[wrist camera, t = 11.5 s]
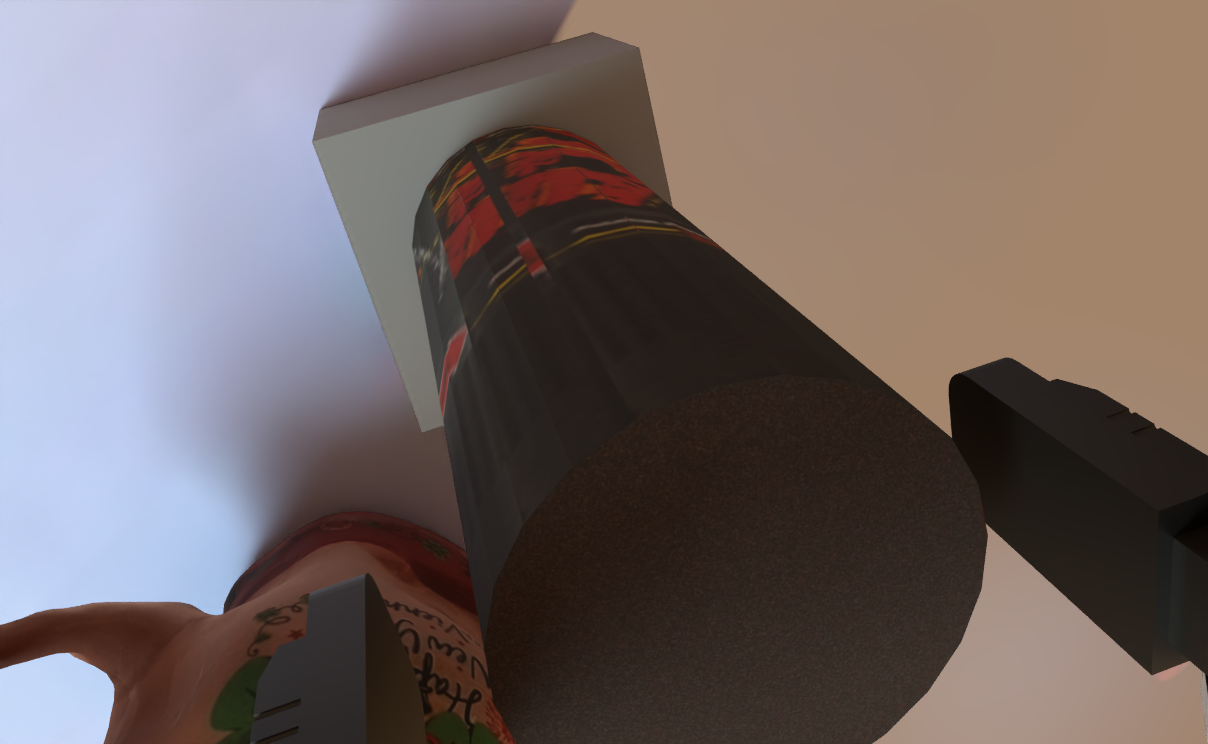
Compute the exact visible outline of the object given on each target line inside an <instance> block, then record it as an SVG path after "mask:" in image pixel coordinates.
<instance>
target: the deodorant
mask: <svg viewBox="0 0 1208 744" xmlns="http://www.w3.org/2000/svg"><path fill="white" fill-rule="evenodd" d="M412 249H413V255H414V261H415V266H416V272H417V278H418V283H419V289H420V294H421V300H422V306H423V311H424V317H425V322H426V328H427V334H428V339H429V345H430V350H431V356H432V362H433V367H434V373H435V378H436V384H437V390H438V395H439V401H440V406H441V412H442V417H443V423H444V429H445V434H446V440H447V445H448V451H449V457H450V462H451V468H452V473H453V479H454V485H455V490H456V496H457V501H458V507H459V513H460V518H461V524H462V529H463V535H464V540H465V546H466V552H467V557H468V563H469V568H470V574H471V580H472V585H473V591H474V596H475V602H476V608H477V613H478V619H479V624H480V630H481V636H482V641H483V647H484V652H485V658H486V663H487V669H488V675H489V680H490V686H491V691H492V697H493V703H494V705H495V707H496V709H497V710H498V712H499V714H500V716H501V718H502V719H503V721H504V723H505V725H506V726H507V728H508V730H509V732H510V733H511V735H512V737H513V739H514V740H515V742H516V744H872V743H873V742H875V741H876V740H878V739H879V738H881V737H882V736H884V734H886V733H887V732H888V731H889V730H890V729H891V728H892V727H893V726H894V725H895V724H896V723H897V722H898V721H899V720H900V719H901V718H902V717H903V716H904V715H905V714H906V713H907V712H908V711H909V710H910V709H911V708H912V707H913V706H914V705H915V704H916V703H917V702H918V701H919V700H920V699H921V698H922V697H923V696H924V695H925V694H926V693H927V692H928V691H929V689H930V688H931V686H932V685H933V683H934V682H935V680H936V679H937V677H938V676H939V674H940V673H941V671H942V670H943V668H944V667H945V665H946V664H947V662H948V661H949V659H950V658H951V656H952V655H953V653H954V652H955V650H956V649H957V647H958V646H959V644H960V643H961V641H962V638H963V636H964V633H965V630H966V628H967V625H968V623H969V620H970V617H971V615H972V612H973V610H974V607H975V604H976V602H977V599H978V597H979V594H980V592H981V588H982V580H983V572H984V562H985V554H986V546H987V538H988V534H987V529H986V523H985V518H984V512H983V507H982V502H981V496H980V491H979V486H978V483H977V481H976V479H975V478H974V476H973V474H972V472H971V471H970V469H969V467H968V465H967V464H966V462H965V460H964V458H963V457H962V455H961V453H960V451H959V450H958V448H957V446H956V445H955V443H954V441H953V439H952V438H951V437H950V436H949V435H947V434H946V433H945V432H944V431H943V430H941V429H940V428H939V427H938V426H937V425H935V424H934V423H933V422H932V421H931V420H929V419H928V418H927V417H926V416H925V415H923V414H922V413H921V412H920V411H919V410H917V409H916V408H915V407H914V406H913V405H911V404H910V403H909V402H908V401H907V400H905V399H904V398H903V397H902V396H900V395H899V394H898V393H897V392H896V391H895V390H893V389H892V388H891V387H890V386H888V385H887V384H886V383H885V382H884V381H882V380H881V379H880V378H879V377H878V376H876V375H875V374H874V373H873V372H872V371H870V370H869V369H868V368H867V367H865V366H864V365H863V364H862V363H861V362H859V361H858V360H857V359H855V357H853V356H852V355H851V354H850V353H848V352H847V351H846V350H845V349H843V348H842V347H841V346H840V345H839V344H838V343H836V342H835V341H834V340H833V339H831V338H830V337H829V336H828V335H827V334H825V333H824V332H823V331H822V330H821V329H819V328H818V327H817V326H816V325H814V324H813V323H812V322H811V321H810V320H808V319H807V318H806V317H805V316H803V315H802V314H801V313H800V312H799V311H798V310H796V309H795V308H794V307H793V306H791V305H790V304H789V303H788V302H787V301H785V300H784V299H783V298H782V297H780V296H779V295H778V294H777V293H776V292H775V291H773V290H772V289H771V288H770V287H768V286H767V285H766V284H765V283H764V282H762V281H761V280H760V279H759V278H758V277H756V276H755V275H754V274H753V273H752V272H750V271H749V270H748V269H747V268H745V267H744V266H743V265H742V264H741V263H739V262H738V261H737V260H736V259H735V258H733V257H732V256H731V255H730V254H728V253H727V252H726V251H725V250H724V249H722V248H721V247H720V246H719V245H718V244H716V243H715V242H714V241H713V240H712V239H710V238H709V237H708V236H707V235H705V234H704V233H703V232H702V231H701V230H699V229H698V228H697V227H696V226H694V225H693V224H692V223H691V222H690V221H688V220H687V219H686V218H685V217H684V216H682V215H681V214H680V213H679V212H678V211H676V210H675V209H674V208H673V207H672V206H670V205H669V204H668V203H667V202H665V201H664V200H663V199H662V198H661V197H659V196H658V195H657V194H656V193H655V192H653V191H652V190H651V189H650V188H648V187H647V186H646V185H645V184H644V183H642V182H641V181H640V180H639V179H638V178H636V177H635V176H634V175H633V174H632V173H630V172H629V171H628V170H627V169H625V168H624V167H623V166H622V165H621V164H619V163H618V162H617V161H616V160H615V159H613V158H612V157H611V156H610V155H608V154H607V153H606V152H605V151H604V150H602V149H601V148H600V147H599V146H598V145H596V144H595V143H594V142H593V141H590V140H588V139H586V138H584V137H581V136H579V135H577V134H575V133H572V132H570V131H568V130H566V129H561V128H554V127H547V126H540V125H526V126H518V127H510V128H503V129H500V130H497V131H495V132H492V133H490V134H487V135H485V136H483V137H480V138H478V139H475V140H473V141H471V142H470V143H468V144H467V145H466V146H465V147H463V148H462V149H461V150H459V151H458V152H457V153H455V154H454V155H453V156H452V157H450V158H449V159H448V160H446V162H445V163H444V164H443V166H442V167H441V168H440V169H439V171H438V172H437V173H436V175H435V176H434V177H433V179H432V180H431V181H430V183H429V184H428V185H427V187H426V190H425V192H424V195H423V197H422V200H421V202H420V205H419V207H418V210H417V212H416V215H415V222H414V232H413V242H412Z"/></svg>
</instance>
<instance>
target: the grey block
mask: <svg viewBox="0 0 1208 744" xmlns="http://www.w3.org/2000/svg"><path fill="white" fill-rule="evenodd" d="M526 125H540V126H547V127H554V128H561V129H566V130H568V131H570V132H572V133H575V134H577V135H579V136H581V137H584V138H586V139H588V140H590V141H593V142H594V143H595V144H596V145H598V146H599V147H600V148H601V149H602V150H604V151H605V152H606V153H607V154H608V155H610V156H611V157H612V158H613V159H615V160H616V161H617V162H618V163H619V164H621V165H622V166H623V167H624V168H625V169H627V170H628V171H629V172H630V173H632V174H633V175H634V176H635V177H636V178H638V179H639V180H640V181H641V182H642V183H644V184H645V185H646V186H647V187H648V188H650V189H651V190H652V191H653V192H655V193H656V194H657V195H658V196H659V197H661V198H662V199H663V200H664V201H665V202H667V203H668V204H669V205H670V206H672V202H671V197H670V193H669V188H668V183H667V178H666V173H665V169H664V164H663V159H662V154H661V150H660V145H659V140H658V135H657V131H656V126H655V122H654V117H653V112H652V107H651V102H650V97H649V93H648V88H647V83H646V79H645V73H644V69H643V64H642V59H641V55H640V50H639V48H638V47H635V46H632V45H629V44H626V43H623V42H620V41H617V40H614V39H611V38H608V37H605V36H602V35H599V34H596V33H593V32H592V33H588V34H585V35H581V36H578V37H574V38H571V39H567V40H564V41H560V42H557V43H553V44H549V45H546V46H542V47H539V48H535V49H532V50H528V51H525V52H521V53H518V54H514V55H511V56H507V57H504V58H500V59H497V60H493V61H490V62H486V63H483V64H479V65H476V66H472V67H469V68H465V69H461V70H458V71H454V72H451V73H447V74H444V75H440V76H437V77H433V78H430V79H426V80H423V81H419V82H416V83H412V84H409V85H405V86H402V87H398V88H395V89H391V90H388V91H384V92H380V93H377V94H373V95H370V96H366V97H363V98H359V99H356V100H352V101H349V102H345V103H342V104H338V105H335V106H331V107H328V108H324V109H321V110H320V111H319V115H318V119H317V123H316V128H315V132H314V136H313V140H312V143H313V145H314V148H315V151H316V153H317V156H318V158H319V161H320V164H321V166H322V169H323V172H324V174H325V177H326V180H327V182H328V185H329V188H330V190H331V193H332V196H333V198H334V201H335V203H336V206H337V209H338V211H339V214H340V217H341V219H342V222H343V225H344V227H345V230H346V233H347V235H348V238H349V240H350V243H351V246H352V248H353V251H354V254H355V256H356V259H357V262H358V264H359V267H360V270H361V272H362V275H363V278H364V280H365V283H366V285H367V288H368V291H369V293H370V296H371V299H372V301H373V304H374V307H375V309H376V312H377V315H378V317H379V320H380V323H381V325H382V328H383V330H384V333H385V336H386V338H387V341H388V344H389V346H390V349H391V352H392V354H393V357H394V360H395V362H396V365H397V367H398V370H399V373H400V375H401V378H402V381H403V383H404V386H405V389H406V391H407V394H408V397H409V399H410V402H411V405H412V407H413V410H414V412H415V415H416V418H417V420H418V423H419V426H420V428H421V431H422V433H423V432H426V431H429V430H432V429H435V428H438V427H441V426H444V423H443V417H442V412H441V406H440V401H439V395H438V390H437V384H436V378H435V373H434V367H433V362H432V356H431V350H430V345H429V339H428V334H427V328H426V322H425V317H424V311H423V306H422V300H421V294H420V289H419V283H418V278H417V272H416V266H415V261H414V255H413V249H412V242H413V232H414V222H415V215H416V212H417V210H418V207H419V205H420V202H421V200H422V197H423V195H424V192H425V190H426V187H427V185H428V184H429V183H430V181H431V180H432V179H433V177H434V176H435V175H436V173H437V172H438V171H439V169H440V168H441V167H442V166H443V164H444V163H445V162H446V160H448V159H449V158H450V157H452V156H453V155H454V154H455V153H457V152H458V151H459V150H461V149H462V148H463V147H465V146H466V145H467V144H468V143H470V142H471V141H473V140H475V139H478V138H480V137H483V136H485V135H487V134H490V133H492V132H495V131H497V130H500V129H503V128H510V127H518V126H526Z"/></svg>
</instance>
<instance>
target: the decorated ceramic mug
mask: <svg viewBox="0 0 1208 744" xmlns="http://www.w3.org/2000/svg"><path fill="white" fill-rule="evenodd" d="M366 573H369V574H370V575H371V576H372V577H373V579H374V581H375V582H376V584H377V586H378V589H379V591H380V593H381V595H382V598H383V600H384V602H385V604H386V607H387V609H388V611H389V613H390V616H391V618H392V620H393V622H394V625H395V627H396V629H397V631H398V634H399V636H400V638H401V641H402V643H403V645H404V647H405V650H406V652H407V654H408V656H409V659H410V661H411V663H412V666H413V669H414V672H415V675H416V678H417V681H418V685H419V689H420V693H421V698H422V703H423V711H424V722H425V733H426V744H516V742H515V740H514V739H513V737H512V735H511V733H510V732H509V730H508V728H507V726H506V725H505V723H504V721H503V719H502V718H501V716H500V714H499V712H498V710H497V709H496V707H495V705H494V703H493V697H492V691H491V686H490V680H489V675H488V669H487V663H486V658H485V652H484V647H483V641H482V636H481V630H480V624H479V619H478V613H477V608H476V602H475V596H474V591H473V585H472V580H471V574H470V568H469V563H468V557H467V552H465V551H464V550H463V549H461V548H460V547H458V546H457V545H455V544H454V543H452V542H450V541H449V540H447V539H445V538H444V537H442V536H440V535H438V534H436V533H434V532H432V531H430V530H428V529H425V528H423V527H420V526H418V525H415V524H413V523H410V522H407V521H404V520H401V519H398V518H394V517H391V516H387V515H383V514H378V513H370V512H344V513H338V514H333V515H330V516H327V517H323V518H321V519H318V520H316V521H313V522H311V523H309V524H307V525H306V526H304V527H302V528H300V529H299V530H297V531H296V532H294V533H293V534H292V535H290V536H289V537H288V538H287V539H285V540H284V541H283V542H282V543H280V544H279V545H278V546H277V547H275V548H274V549H273V550H272V551H271V552H269V553H268V554H267V555H266V556H264V557H263V558H262V559H260V560H259V561H257V562H256V563H254V564H253V565H252V566H251V567H250V568H249V569H248V570H247V571H245V572H244V573H243V574H242V575H241V576H240V578H239V579H238V580H237V581H236V582H235V584H234V585H233V587H232V588H231V590H230V592H229V594H228V596H227V599H226V601H225V603H224V612H223V614H221V615H210V614H207V613H204V612H202V611H201V610H199V609H198V608H196V607H194V606H193V605H190V604H186V603H181V602H103V603H91V604H86V605H81V606H76V607H71V608H64V609H50V610H46V611H42V612H37V613H34V614H32V615H29V616H27V617H24V618H22V619H19V620H16V621H13V622H10V623H6V624H3V625H0V669H2V668H5V667H8V666H11V665H15V664H19V663H23V662H27V661H30V660H34V659H37V658H40V657H44V656H48V655H52V654H56V653H70V654H71V655H72V656H74V657H76V658H78V659H80V660H82V661H85V662H87V663H89V664H91V665H93V666H95V667H97V668H99V669H100V670H102V671H103V672H105V673H107V675H108V676H109V678H110V679H111V681H112V683H113V684H114V689H115V691H114V703H113V708H112V712H111V717H110V723H109V728H108V731H107V734H106V738H105V741H104V744H250V736H251V729H252V722H253V721H255V718H254V707H255V700H256V693H257V685H258V680H259V679H260V677H261V675H262V673H263V672H264V670H265V668H266V667H267V665H268V663H269V662H270V660H271V658H272V657H273V655H274V653H275V651H276V650H277V648H278V646H280V645H283V644H286V643H288V642H291V641H294V640H297V639H300V638H303V637H306V624H307V611H308V599H309V595H310V593H311V592H313V591H316V590H319V589H322V588H325V587H328V586H331V585H334V584H337V583H339V582H342V581H345V580H348V579H351V578H354V577H357V576H360V575H363V574H366Z"/></svg>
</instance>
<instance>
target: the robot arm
mask: <svg viewBox="0 0 1208 744" xmlns="http://www.w3.org/2000/svg"><path fill="white" fill-rule="evenodd" d="M949 404H950V417H951V430H952V439H953V441H954V443H955V445H956V446H957V448H958V450H959V451H960V453H961V455H962V457H963V458H964V460H965V462H966V464H967V465H968V467H969V469H970V471H971V472H972V474H973V476H974V478H975V479H976V481H977V483H978V486H979V491H980V496H981V502H982V507H983V512H984V518H985V523H986V524H987V525H988V526H989V527H990V528H991V529H992V530H994V531H995V532H996V533H997V534H998V535H999V536H1000V537H1001V538H1002V539H1003V540H1004V541H1006V542H1007V543H1008V544H1009V545H1010V546H1011V547H1012V548H1013V549H1014V550H1015V551H1017V552H1018V553H1019V554H1020V555H1021V556H1022V557H1023V558H1024V559H1025V560H1026V561H1027V562H1029V563H1030V564H1031V565H1032V566H1033V567H1034V568H1035V569H1036V570H1037V571H1038V572H1040V573H1041V574H1042V575H1043V576H1044V577H1045V578H1046V579H1047V580H1048V581H1049V582H1051V583H1052V584H1053V585H1054V586H1055V587H1056V588H1057V589H1058V590H1059V591H1060V592H1061V593H1062V594H1063V595H1065V596H1066V597H1067V598H1068V599H1069V600H1070V601H1071V602H1072V603H1073V604H1074V605H1076V606H1077V607H1078V608H1079V609H1080V610H1081V611H1082V612H1083V613H1084V614H1085V615H1086V616H1088V617H1089V618H1090V619H1091V620H1092V621H1093V622H1094V623H1095V624H1096V625H1097V626H1098V627H1100V628H1101V629H1102V630H1103V631H1104V632H1105V633H1106V634H1107V635H1108V636H1110V637H1111V638H1112V639H1113V640H1114V641H1115V642H1116V643H1117V644H1118V645H1119V646H1120V647H1121V648H1123V649H1124V650H1125V651H1126V652H1127V653H1128V654H1129V655H1130V656H1131V657H1132V658H1133V659H1135V660H1136V661H1137V662H1138V663H1139V664H1140V665H1141V666H1142V667H1143V668H1144V669H1145V670H1147V671H1148V672H1149V673H1150V674H1151V675H1154V674H1156V673H1159V672H1161V671H1164V670H1167V669H1169V668H1172V667H1174V666H1177V665H1180V664H1182V663H1185V662H1187V661H1191V662H1192V663H1193V664H1194V665H1196V666H1197V667H1198V668H1199V669H1200V670H1201V671H1202V681H1201V698H1202V705H1203V713H1204V720H1205V728H1206V736H1207V743H1208V456H1207V455H1206V454H1204V453H1202V452H1201V451H1199V450H1197V449H1195V448H1194V447H1192V446H1191V445H1189V444H1187V443H1186V442H1184V441H1182V440H1180V439H1179V438H1177V437H1175V436H1174V435H1172V434H1170V433H1169V432H1167V431H1165V430H1164V429H1162V428H1159V429H1156V427H1155V425H1154V423H1152V422H1150V421H1149V420H1147V419H1145V418H1144V417H1142V416H1140V415H1138V414H1137V413H1132V414H1131V413H1130V411H1129V408H1127V407H1125V406H1124V405H1122V404H1120V403H1118V402H1116V401H1115V400H1113V399H1112V398H1110V397H1108V396H1107V395H1105V394H1103V393H1101V392H1100V391H1098V390H1095V389H1091V388H1088V387H1084V386H1081V385H1077V384H1074V383H1070V382H1066V381H1063V380H1059V379H1055V380H1052V381H1048V380H1046V379H1045V378H1043V377H1041V376H1040V375H1038V374H1037V373H1035V372H1033V371H1032V370H1030V369H1029V368H1027V367H1025V366H1024V365H1022V364H1021V363H1019V362H1017V361H1016V360H1014V359H1012V358H1003V359H1000V360H997V361H994V362H991V363H988V364H985V365H982V366H979V367H976V368H973V369H970V370H967V371H964V372H962V373H958V374H956V375H954V376H953V377H952V378H951V380H950V383H949ZM254 718H255V721H253V722H252V729H251V736H250V744H426V733H425V722H424V711H423V703H422V698H421V693H420V689H419V685H418V681H417V678H416V675H415V672H414V669H413V666H412V663H411V661H410V659H409V656H408V654H407V652H406V650H405V647H404V645H403V643H402V641H401V638H400V636H399V634H398V631H397V629H396V627H395V625H394V622H393V620H392V618H391V616H390V613H389V611H388V609H387V607H386V604H385V602H384V600H383V598H382V595H381V593H380V591H379V589H378V586H377V584H376V582H375V581H374V579H373V577H372V576H371V575H370V574H369V573H366V574H363V575H360V576H357V577H354V578H351V579H348V580H345V581H342V582H339V583H337V584H334V585H331V586H328V587H325V588H322V589H319V590H316V591H313V592H311V593H310V595H309V599H308V611H307V624H306V637H303V638H300V639H297V640H294V641H291V642H288V643H286V644H283V645H280V646H278V648H277V650H276V651H275V653H274V655H273V657H272V658H271V660H270V662H269V663H268V665H267V667H266V668H265V670H264V672H263V673H262V675H261V677H260V679H259V680H258V685H257V693H256V700H255V707H254Z"/></svg>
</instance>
